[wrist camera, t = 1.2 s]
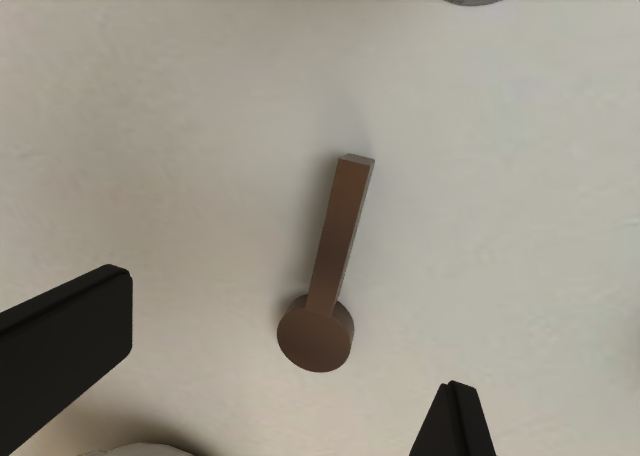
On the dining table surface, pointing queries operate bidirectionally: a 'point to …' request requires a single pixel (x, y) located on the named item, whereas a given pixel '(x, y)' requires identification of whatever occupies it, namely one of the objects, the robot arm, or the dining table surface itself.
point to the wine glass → (473, 2)
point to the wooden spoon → (328, 278)
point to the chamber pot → (141, 450)
